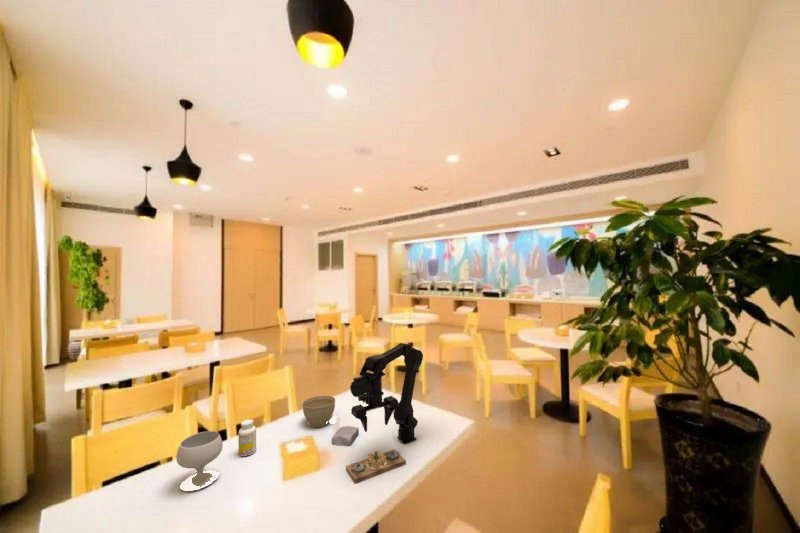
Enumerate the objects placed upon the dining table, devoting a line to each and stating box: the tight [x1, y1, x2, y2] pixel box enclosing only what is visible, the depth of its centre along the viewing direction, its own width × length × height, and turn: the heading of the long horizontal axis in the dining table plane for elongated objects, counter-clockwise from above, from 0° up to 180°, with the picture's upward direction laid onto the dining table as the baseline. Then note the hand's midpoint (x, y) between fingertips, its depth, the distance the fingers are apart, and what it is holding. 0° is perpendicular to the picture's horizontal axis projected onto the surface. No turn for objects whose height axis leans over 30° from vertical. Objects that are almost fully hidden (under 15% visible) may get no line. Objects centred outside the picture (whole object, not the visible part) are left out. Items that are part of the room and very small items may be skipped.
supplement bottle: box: [237, 419, 257, 457], centre depth 127 cm, size 7×7×13 cm
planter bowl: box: [301, 395, 336, 428], centre depth 152 cm, size 16×16×11 cm
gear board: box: [345, 449, 407, 485], centre depth 115 cm, size 21×9×6 cm, turn 120°
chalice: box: [176, 430, 224, 487], centre depth 110 cm, size 14×14×15 cm
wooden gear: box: [365, 452, 386, 469], centre depth 115 cm, size 7×7×2 cm
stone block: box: [331, 425, 360, 447], centre depth 137 cm, size 12×5×10 cm
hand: (376, 428), depth 122 cm, fingers open, 9 cm apart
